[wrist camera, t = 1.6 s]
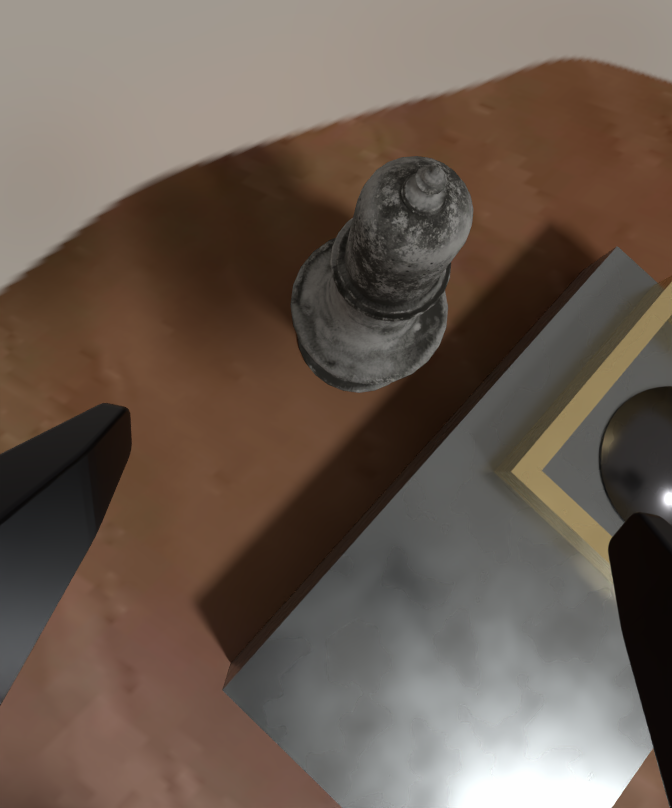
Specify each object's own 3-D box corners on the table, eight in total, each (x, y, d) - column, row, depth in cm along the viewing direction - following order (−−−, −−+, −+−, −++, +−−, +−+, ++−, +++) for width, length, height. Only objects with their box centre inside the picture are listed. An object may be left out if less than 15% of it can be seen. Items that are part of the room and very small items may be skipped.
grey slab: (475, 902, 19) (523, 1010, 15) (230, 663, 20) (216, 709, 16) (792, 462, 23) (895, 459, 19) (582, 270, 24) (641, 229, 20)
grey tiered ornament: (265, 308, 22) (238, 110, 10) (378, 247, 23) (476, 0, 11) (334, 424, 22) (391, 358, 10) (447, 357, 22) (625, 223, 11)
